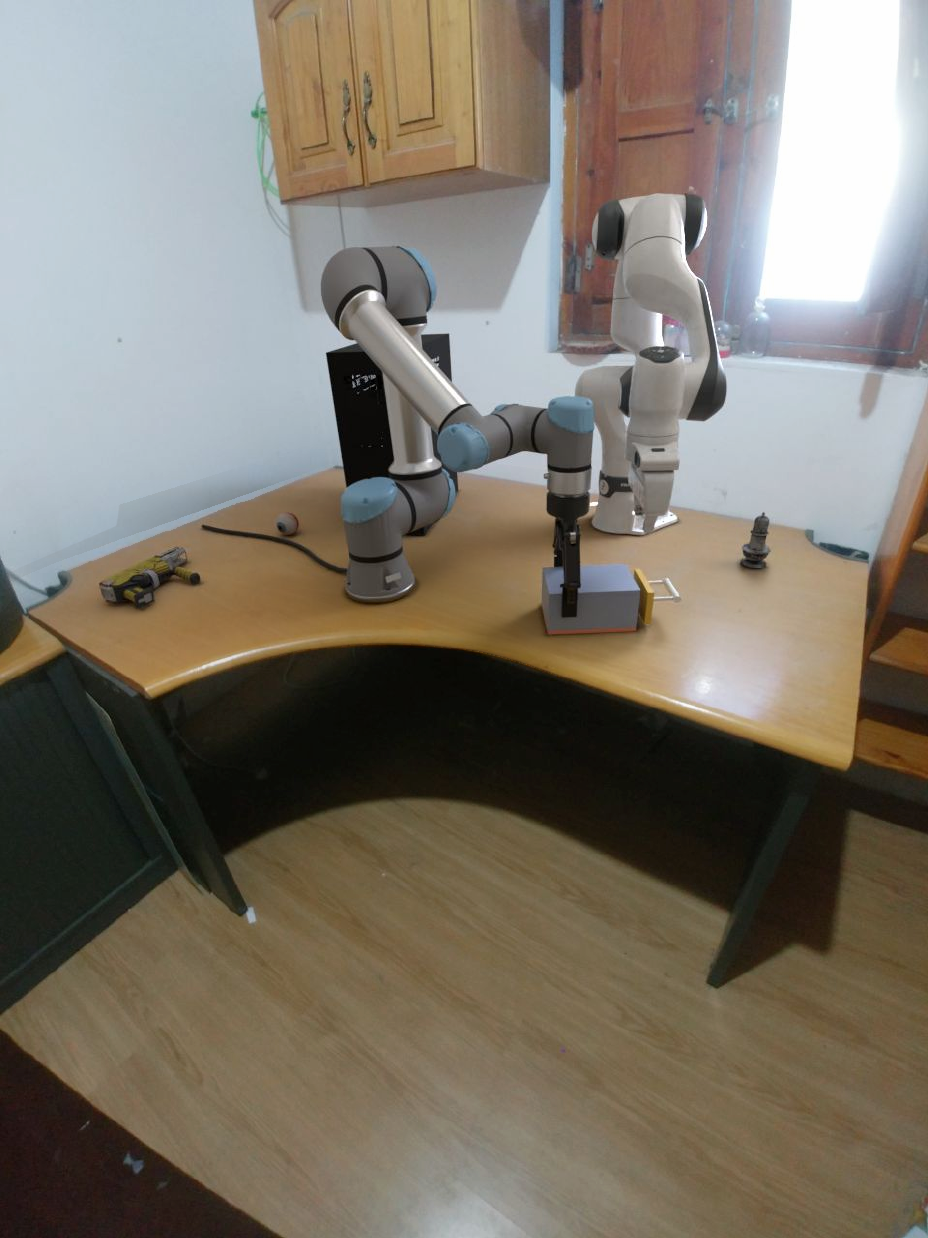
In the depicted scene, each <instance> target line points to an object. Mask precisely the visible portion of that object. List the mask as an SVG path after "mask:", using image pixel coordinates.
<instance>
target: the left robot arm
mask: <svg viewBox="0 0 928 1238" xmlns="http://www.w3.org/2000/svg"><path fill="white" fill-rule="evenodd" d="M320 296H321V301H322V304H323V305H322V306H323V308H324V310H325V312H326V315H327V316H328V318H329V320H330V321H331V323H332V324H333V326H334V327H335V328H336V330H337V331H339V333H340V334H341V336H343V338H345V339H347V340H348V341H355V343H358V344H359V345H360V347H361V348H362V349H363V350H364V351H365V352H366V354H367V355H368V356H369V357H370V358H371V359H372V360H373V362H374V363H375V364H376V365H377V366H378V367H379V368H380V370H381V371H382V374H383V381H384V389H385V396H386V403H387V411H388V418H389V425H390V432H391V440H392V447H393V454H394V461H393V463H392V464H391V465H390V467H389V476H390V479H389V478H385V477H374V478H371V479H364V480H361V481H358V482H356V483H354V484H352V485H350V486H349V487H347V488H345V489H344V490H343V491H342V493H341V497H340V507H341V508H340V509H341V511H340V514H341V515H340V516H341V518H342V521H343V528H344V533H345V540H346V544H347V551H348V558H349V559H348V560H349V561H348V564H347V565H348V566H347V568H345V567H339V566H336V565H334V564H331V563H329V562H327V561H325V560H323V559H322V558H320V557H319V556H317V555H316V554H315V553H314V552H312V551H311V550H310V549H309V548H307V547H305V546H304V545H301V544H300V543H297V542H295V541H292V540H290V539H286V538H283V537H280V536H274V535H269V534H263V533H257V532H256V533H255V532H248V531H242V530H233V529H226V528H219V527H216V526H215V527H214V526H210V525H206V524H201V528H202V529H205V530H209V531H213V532H218V533H222V534H228V535H229V534H230V535H237V536H245V537H253V538H259V539H260V538H261V539H266V540H271V541H276V542H280V543H283V544H286V545H290V546H293V547H295V548H297V549H300V550H301V551H303V552H304V553H306V554H307V555H309V556H310V557H311V558H312V559H313V560H314V561H316V562H317V563H319V564H321V565H322V566H323V567H326V568H328V569H330V570H333V571H335V572H339V573H345V574H346V577H345V581H344V582H345V583H344V586H345V592H346V595H347V596H348V598H350V599H351V600H353V601H355V602H359V603H363V604H384V603H385V604H386V603H390V602H393V601H397V600H400V599H402V598H404V597H406V596H409V594H410V593H411V592H412V591H413V590H414V589H415V586H416V580H415V575H414V573H413V570H412V569H411V566H410V564H409V561H408V560H407V557H406V556H405V553H404V547H403V536H406V535H405V534H407V533H410V532H412V531H414V530H417V529H419V528H422V527H424V526H427V525H429V524H433V523H434V524H436V523H438V522H439V521H440V520H442V519H444V518H445V517H447V516H448V515H449V514H450V512H452V510H453V508H454V505H455V503H456V502H455V501H456V494H455V486H454V483H453V480H452V479H450V478H449V477H450V475H449V473H448V472H447V471H446V470H444V469H443V468H442V464H441V462H440V461H439V460H438V459H437V458H435V457H434V454H433V445H432V435H431V428H432V429H433V430H434V431H435V433H436V434H437V435H438V436H439V437H438V441H437V448H438V453H439V454H440V456H441V460H442V462H443V464H444V465H445V466H446V467H447V468H448V469H450V470H452V471H455V472H457V473H464V472H469V471H473V470H478V469H480V468H483V466H486V465H488V464H491V463H493V462H496V461H498V460H503V459H506V458H508V457H512V456H514V455H516V454H520V453H522V452H528V453H535V454H540V455H546V468H547V473H543V479H544V480H546V490H548V491H547V493H546V507H545V508H546V509H545V511H546V513H547V514H548V515H549V516H551V517H553V518H554V527H553V537H552V538H553V539H552V545H551V546H552V549H553V567H563V575H564V583H563V584H560V588H562V614H561V616H562V618H565V617H577V601H578V588H580V587H581V581H580V566H581V536H582V534H581V527H580V526H581V525H580V524H578V519H579V518H582V517H583V518H584V516H586V515H587V514H589V512H590V503H591V502H590V501H591V493H590V492H589V491H590V490H591V489H592V470H593V465H592V456H593V441H594V430H595V427H596V425H595V423H594V405H593V402H592V401H591V400H590V399H588V398H586V397H579V396H575V395H574V396H570V395H566V396H565V395H564V396H557V397H553V398H552V399H550V401H549V402H548V404H547V407H538V406H531V405H524V404H520V403H509V404H508V403H501V404H499V405H496V407H494V409H493V410H492V411H491V412H490V413H489V414H486V415H482V414H481V412H479V410H477V408H476V407H475V406H474V405H473V404H472V403H471V402H470V401H469V400H468V399H467V398H466V397H465V395H464V394H463V393H462V392H461V391H460V389H458V387H457V386H456V385H455V384H454V383H453V381H452V382H451V381H450V380H449V379H448V377H447V376H446V375H445V374H444V373H443V372H442V371H441V370H440V369H439V367H438V364H435V363H434V361H433V359H432V360H431V358H430V357H429V356H428V355H427V354H426V353H425V352H424V351H423V349H422V341H421V335H422V334H423V332H424V331H425V329H426V327H427V326H428V316H427V313H428V312H430V311H431V310H432V308H433V306H434V302H435V301H436V299H437V280H436V276H435V272H434V270H433V267H432V266H431V264H430V262H429V261H428V259H427V258H426V257H425V256H424V255H423V253H421V252H420V251H419V250H417V249H415V248H413V247H410V246H409V247H407V246H400V245H391V246H370V247H369V246H368V247H363V246H362V247H358V246H351V247H347V248H343V249H341V250H339V251H338V252H336V253H335V254H334V255H332V256H331V257H330V258H329V260H328V261H327V263H326V264H325V266H324V269H323V272H322V274H321V278H320ZM434 524H433V525H434Z"/></svg>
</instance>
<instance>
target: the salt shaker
mask: <svg viewBox="0 0 928 1238" xmlns="http://www.w3.org/2000/svg"><path fill="white" fill-rule="evenodd" d="M769 525H770V518H769V517H768V516H766V513H765V511H763V512H762V513H761V515H758V516H756V517H755V518H754V522H753V527H752V529H751V530H750V534H751V536H750V539H749V542H748V543H745V544H742V545H741V549H742V555H743V556H744V558H742V559H741V560H740V561H739V562H740V564H741V565H742V566H743V567H747V568H752V569H763V568H765V567H766V566H767V562H766V560H765V559H767V557H768V556H769V554H770V553H771V551H772V549H771V547H770V546H768V545H766V542H767V536H769V535H770V534H769V531H768V529H769ZM764 560H765V561H764Z"/></svg>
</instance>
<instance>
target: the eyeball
mask: <svg viewBox="0 0 928 1238" xmlns="http://www.w3.org/2000/svg"><path fill="white" fill-rule="evenodd" d="M299 525H300V522H299V519H298V517H297V516H296V515H295V514H294V513H292V512H287V511H286V512H282V513H280V514H279V515H278V516H277V517H276V520H275V527H276V529H277V530H278V531H279V532H280V533H281V534H282V535H285V536H286V535H287V536H289V535H293V534H295V533H296V532H297V531H298V529H299Z"/></svg>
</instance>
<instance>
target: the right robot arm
mask: <svg viewBox="0 0 928 1238" xmlns="http://www.w3.org/2000/svg"><path fill="white" fill-rule="evenodd" d="M707 221H708V215H707V209H706V202H705V201H704V198H703V197H702V196H701V195H698V194H694V193H689V192H684V194H677V193H662V192H657V193H651V194H649V195H640V196H633V197H628V198H624V199H619V198H613V199H611V200H607V201H605V202H603V203H602V205H601V206H599V208H598V209H597V213H596V214H595V218H594V219H593V223H592V226H591V227H592V228H591V240H592V244H593V247H594V249H595V250H594V251H595V255H597V257H599V258H600V259H602V260H606V261H615V260H618V262H617V266H616V270H615V271H616V272H615V277H614V282H613V292H612V300H611V301H612V302H611V303H612V304H611V317H610V330H609V331H610V337H611V340H612V341H613V342H614V344H616V345H617V346H619V347H621V348H622V349H624V350H626V351H628V352H630V353H632V354H633V355H634V357H635V361H634V364H633V365H603V366H597V367H593V368H589V369H586V370H584V371H583V372H582V373H581V374H580V376H579V377H578V379H577V380H576V384H575V387H574V396H579V397H586V398H588V399H590V400H591V401H592V402H593V405H594V425H595V427H596V429H597V431H598V434H599V436H600V437H599V438H600V443H601V468H600V470H599V474H598V492H599V493H598V498H597V501H596V502H590V503H589V507H592V506H596V507H595V511H594V514H593V517H592V520H591V525H592V526H593V527H594V528H595V529H597V530H599V531H601V532H605V533H611V534H623V535H625V534H626V535H632V536H633V535H634V536H645V535H646V534H653V533H654V532H655V531H657V530H660V529H662V528H665V527H668V526H670V525H672V524H675V523H677V522H678V516H677V515H676V514H675V513H674V512H672V511H670V505H671V500H672V494H673V489H674V483H675V471H679V470H680V469H679V468H680V463H681V458H680V454H679V437H680V424H679V420H685V421H693V422H706V421H708V420H709V419H711V418H712V417H714V416H715V415H716V414H717V413H718V412H720V410H722V409H723V407H724V405H725V403H726V398H727V393H728V382H727V376H726V372H725V368H724V366H723V362H722V359H721V355H720V351H719V347H718V342H717V341H718V340H717V335H716V330H715V325H714V319H713V314H712V308H711V303H710V300H709V295H708V291H707V288H706V285H705V282H704V281H703V280H702V279H701V278H699V277H698V276H696V275H695V274H694V273H693V272H692V270H691V269H690V267H689V265H688V262H687V259H686V257H687V256H689V255H690V254H692V253H693V252H694V251H695V250H696V249H697V248H698V247H699V246H700V243H701V241H702V239H703V237H704V234H705V232H706V228H707V223H708V222H707ZM663 316H666V317H668V318H670V319H672V320H675V321H676V322H678V323H680V324H681V325H682V326H683V328H684V329H685V332H686V335H687V341H688V347H689V352H690V358H691V362H685V354H684V352H683V351H682V350H680V349H679V348H677V347H674V346H673V347H672V346H668V345H665V343H664V339H663ZM625 417H626V418H628V419H629V421H628V422H626V418H625Z"/></svg>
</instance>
